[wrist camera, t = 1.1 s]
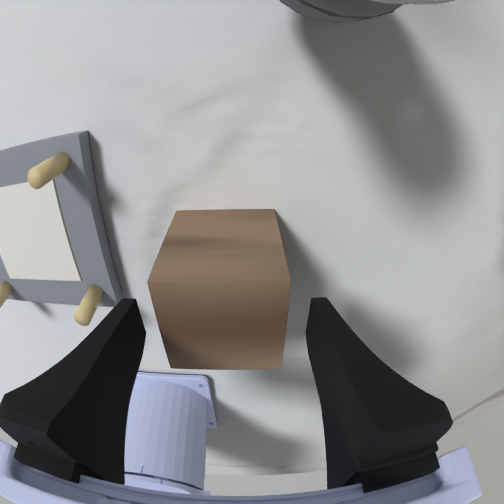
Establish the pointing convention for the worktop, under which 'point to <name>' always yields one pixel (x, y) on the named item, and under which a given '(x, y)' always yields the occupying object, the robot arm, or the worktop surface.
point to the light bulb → (349, 8)
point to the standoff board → (54, 227)
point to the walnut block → (222, 290)
